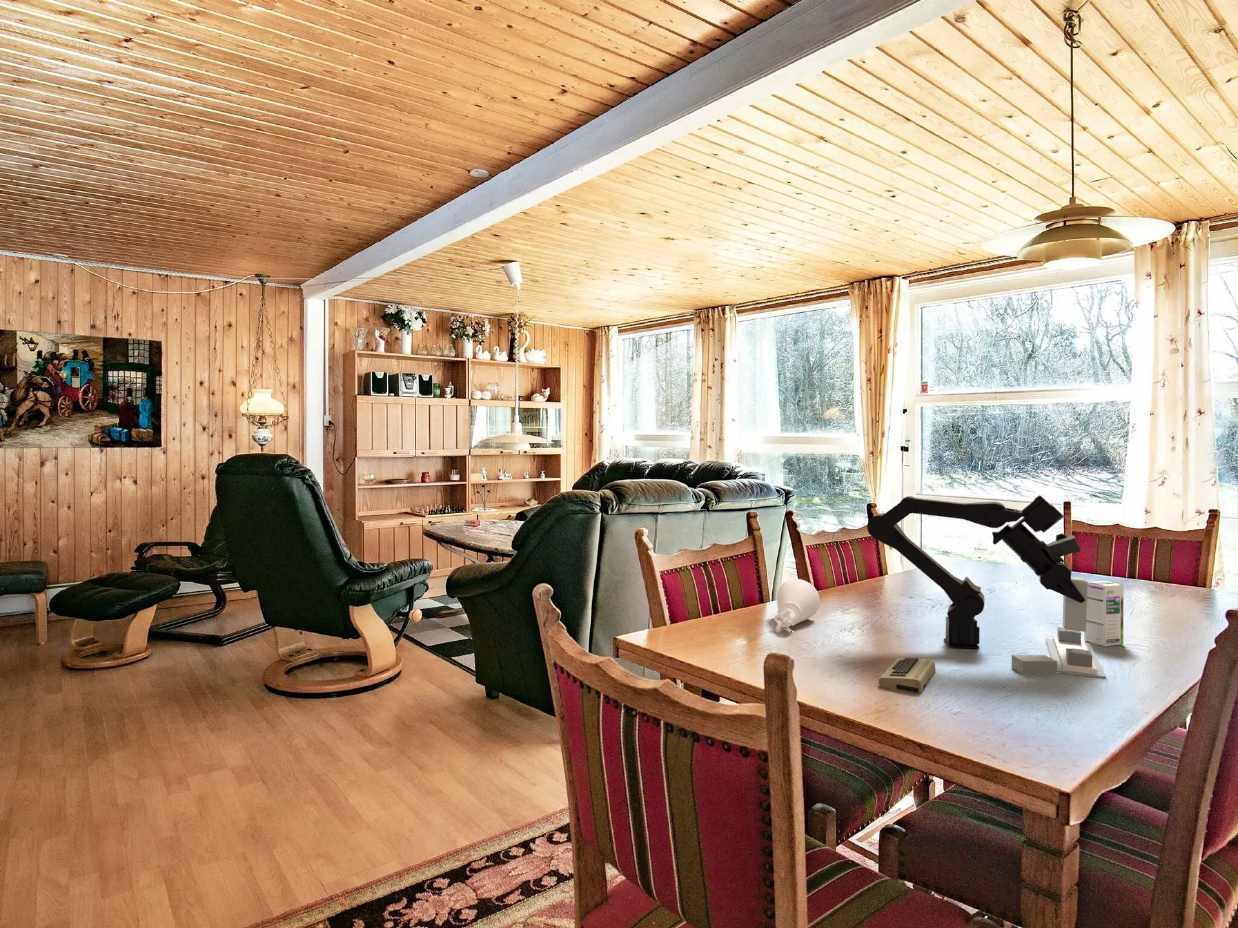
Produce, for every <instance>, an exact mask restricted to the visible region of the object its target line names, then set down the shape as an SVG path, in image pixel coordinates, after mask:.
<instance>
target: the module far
mask: <svg viewBox="0 0 1238 928" xmlns="http://www.w3.org/2000/svg"><path fill="white" fill-rule="evenodd" d="M1056 636H1057V638H1058V641H1059V642H1068V643H1078V644H1081V639H1082V631H1073V630H1065V629H1064V627H1063V626H1061V627H1060V626H1058V627H1057V635H1056Z"/></svg>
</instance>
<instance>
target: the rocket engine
mask: <svg viewBox="0 0 1238 928" xmlns="http://www.w3.org/2000/svg"><path fill="white" fill-rule="evenodd" d="M776 605H777V614H776V615H775V616H774V618H773V619H774V621H775V622H776V627H775V630H774V632H775V631H776V633H777V632H780V633H782V631H784V630H786V631H785V632H788V633H791V631H792V632H793V633H795V631H794V630H792V629H791V628H790V626H792V627H793V626H795V625H798V624H799V623H801V622H802V623H803V622H804V621H807V620H808V619H810V618H812V617H813V616H814V615H815V614H816V613H817V612H818V610H819V608H820V607H821V606H820V605H821V599H820V594H819V592H818V591H817V589H816V588H815V587H814V586H813V585H812V584H811V583H810V582H808V581H807V580H804V579H801V578H792V579H791V578H790V579H788V580H786V581H784V582H783V583H781V585H780V586H779V587H778V589H777V595H776Z"/></svg>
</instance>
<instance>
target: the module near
mask: <svg viewBox="0 0 1238 928" xmlns="http://www.w3.org/2000/svg"><path fill="white" fill-rule="evenodd" d="M1066 662H1067V665H1074V666H1082V667H1091V668H1092V654H1091V652H1090V651H1087V650H1083V649H1073V648H1072V649H1069V648H1066Z"/></svg>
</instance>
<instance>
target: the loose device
mask: <svg viewBox="0 0 1238 928" xmlns="http://www.w3.org/2000/svg"><path fill="white" fill-rule="evenodd" d="M1011 669H1012V670H1015V671H1016V672H1018V673H1020V674H1022V675H1058V673H1057V661H1055V660H1053V659H1051V656H1050V657H1049V656H1047V655H1046V654H1011Z"/></svg>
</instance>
